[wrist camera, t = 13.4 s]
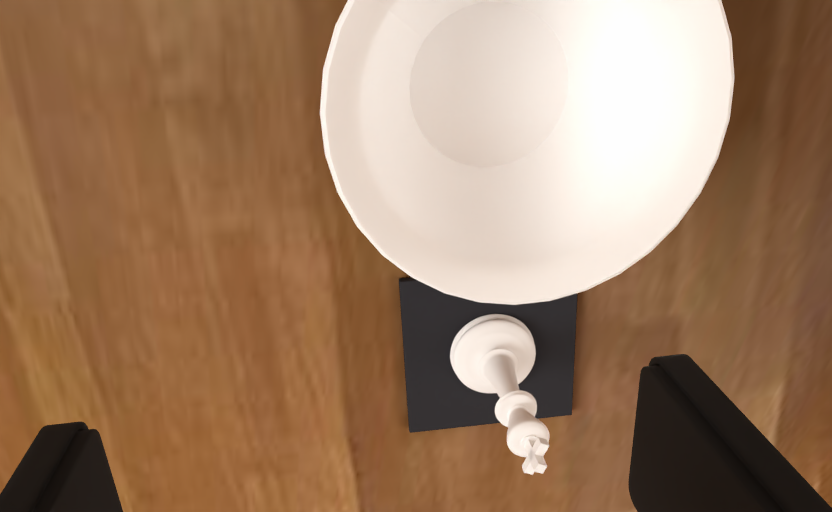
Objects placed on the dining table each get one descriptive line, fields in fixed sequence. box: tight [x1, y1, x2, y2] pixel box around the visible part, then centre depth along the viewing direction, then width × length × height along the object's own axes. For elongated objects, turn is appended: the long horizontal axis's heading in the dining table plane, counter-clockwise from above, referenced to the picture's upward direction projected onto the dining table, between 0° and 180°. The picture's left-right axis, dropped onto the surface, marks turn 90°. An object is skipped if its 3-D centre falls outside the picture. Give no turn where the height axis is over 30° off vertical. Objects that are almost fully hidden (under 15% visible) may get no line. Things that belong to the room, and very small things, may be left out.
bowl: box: [320, 0, 734, 305], centre depth 29 cm, size 16×16×8 cm
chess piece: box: [450, 314, 549, 475], centre depth 33 cm, size 5×5×10 cm
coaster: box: [399, 277, 577, 433], centre depth 38 cm, size 10×10×1 cm
